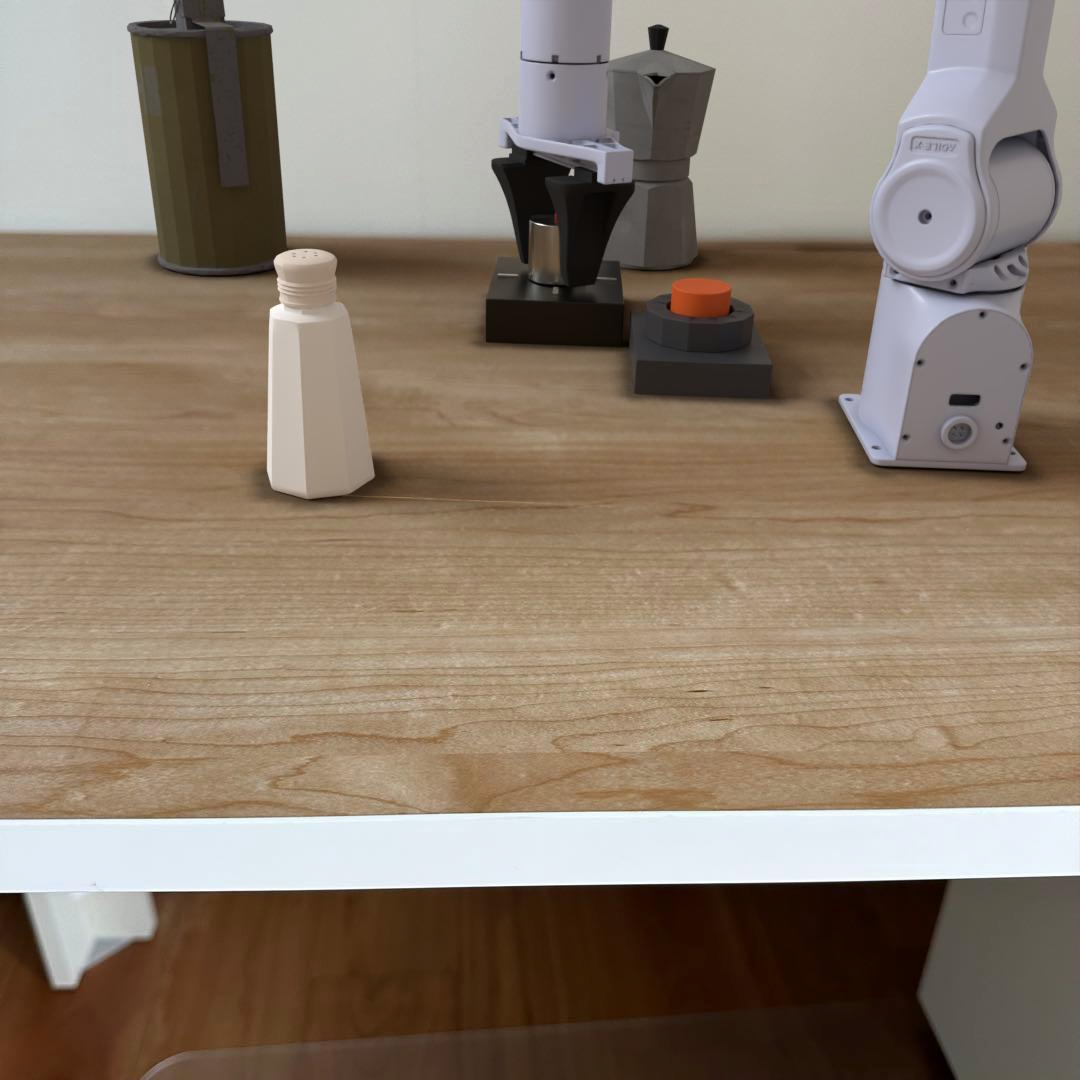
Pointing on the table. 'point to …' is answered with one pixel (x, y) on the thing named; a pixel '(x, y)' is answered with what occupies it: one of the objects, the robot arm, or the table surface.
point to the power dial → (544, 250)
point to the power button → (701, 297)
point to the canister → (211, 139)
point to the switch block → (698, 353)
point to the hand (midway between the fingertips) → (557, 273)
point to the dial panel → (554, 308)
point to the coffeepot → (657, 152)
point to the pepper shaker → (314, 384)
